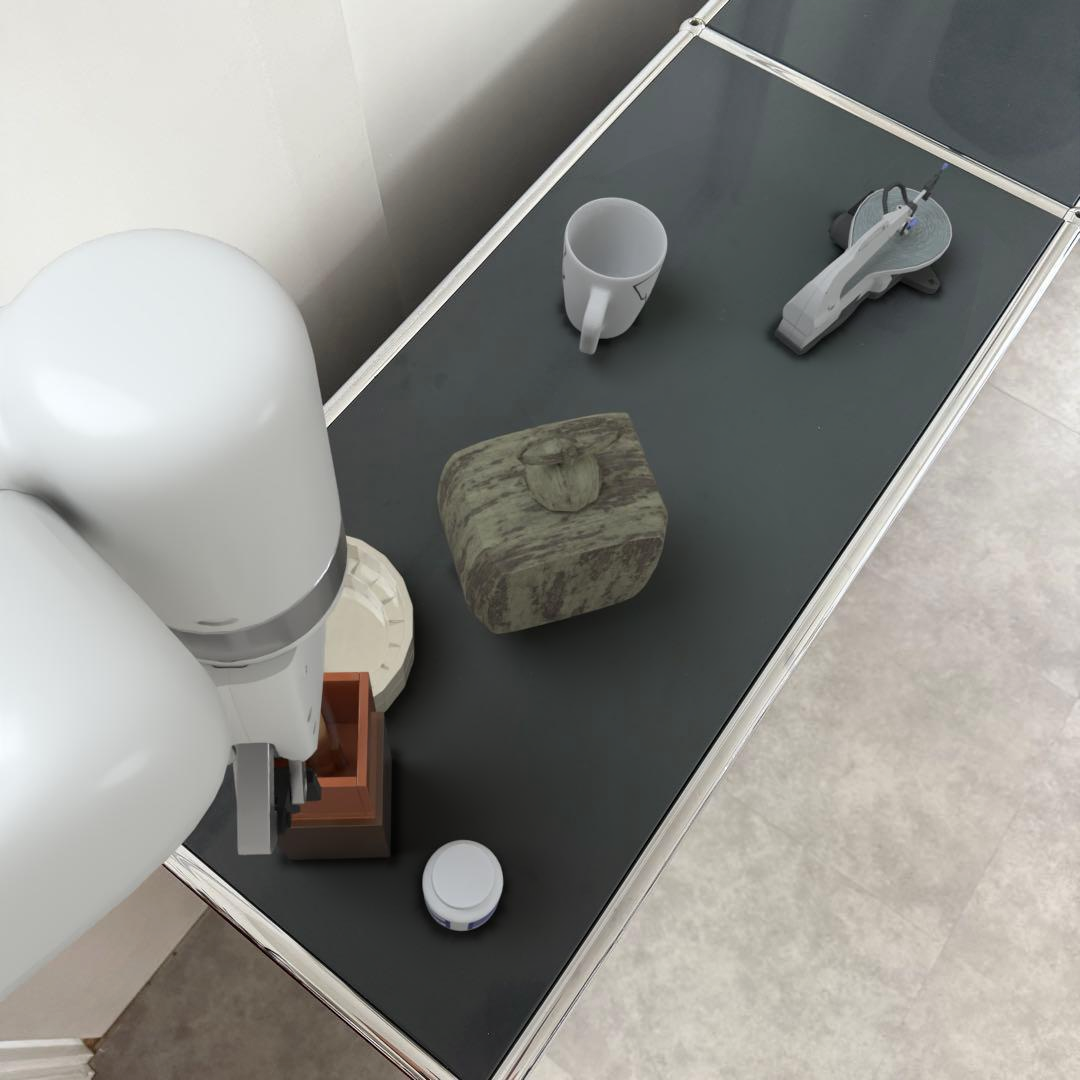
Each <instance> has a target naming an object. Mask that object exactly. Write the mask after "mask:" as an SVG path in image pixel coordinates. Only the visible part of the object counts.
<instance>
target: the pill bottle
mask: <svg viewBox="0 0 1080 1080" xmlns="http://www.w3.org/2000/svg"><path fill="white" fill-rule="evenodd" d="M421 880H422V881H421V883H422V884H421V885H422V893H423V898H424V902H425V906H426V908H427V910H428V912H429V914H430V915H431V917H432V918H433V919H434V920H435V921H436V923H438V924H439V925H441V926H443V927H445V928H447V929H449V930H452V931H456V932H457V931H458V932H464V931H465V932H467V931H470V930H474V929H477V928H479V927H480V926H482V925H484V924H486V922H487V921H488V920H489V919H490V918H491V917H492V916H493V914H495V913H494V912H495V911H496V909H497V907H498V904H499V901H500V898H501V896H502V892H503V887H504V876H503V871H502V866H501V864H500V862H499V860H498V858H497V856H495V854H494V853H493V852H492V851H491V850H490V849H489V848H488V847H487V846H485V845H483V844H482V843H480V842H477V841H473V840H470V839H468V840H467V839H457V840H453V841H450V842H447V843H445V844H443V845H442V846H440V847H439V848H438V849H436V850H435V851H434V853H433V854H431V856H430V858H429V859H428V860H427V863H426V864H425V867H424V870H423V873H422V879H421Z"/></svg>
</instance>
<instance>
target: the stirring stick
mask: <svg viewBox="0 0 1080 1080" xmlns="http://www.w3.org/2000/svg"><path fill="white" fill-rule="evenodd" d="M305 762H306V767H310V768H312V770H313V771H314V773H315V774H316V775H317V776H319V777H330V776H332V775H333V774H335V772H336V771H337V769H345V757H344V754H343V751H342V748H341V745H340V742H339V740H338V739H332V740H331V739H330V736H329V733H328V730H327V728H326V725H325V722H324V719H323V717H322V714H321V712H320V723H319V735H318V745H317V749H316V751H315V752H314V753H313V754H312V756H310V757H309V758H308V759H307V760H305Z"/></svg>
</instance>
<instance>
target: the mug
mask: <svg viewBox="0 0 1080 1080" xmlns="http://www.w3.org/2000/svg"><path fill="white" fill-rule="evenodd" d="M564 231H565V232H564V237H563V248H562V249H563V250H562V251H563V253H562V269H561V270H562V272H561V273H562V285H563V286H562V287H563V288H562V289H563V297H564V307H565V312H566V315H567V317H568V320H569V322H570V323H571V324H572V326H573V327H574V328H575V329H576V330H577V331H579V332H580V338H579V339H580V340H579V351H580V352H581V353H583V354H586V355H594V354H595V352H596V350H597V347H598V343H599V340H600V339H610V338H611V339H612V338H615V337H618V336H620V335H622V334H624V333H625V332H627V330H629V328H630V327H631V326H632V325H633V323H634V322H635V321H636V319H637V317H638V316H639V314H640V312H641V311H642V309H643V307H644V306H645V304H646V302H647V301H648V299H649V297H650V295H651V293H652V291H653V289H654V287H655V284H656V282H657V280H658V277H659V275H660V271H661V269H662V268H663V265H664V262H665V259H666V255H667V252H668V236H667V233H666V230H665V228H664V226H663V224H662V222H661V221H660V219H659V217H657V216H656V214H655V213H654V212H652V210H650V209H648V208H647V207H646V206H644V205H642V204H640V203H638V202H636V201H633V200H631V199H627V198H623V197H622V198H621V197H602V198H598V199H594V200H591V201H588V202H587V203H585V204H583V205H582V206H580V207H579V208H577V210H575V211H574V212H573V214H572V215H571V217H570V218H569V220H568V221H567V224H566V227H565V230H564Z"/></svg>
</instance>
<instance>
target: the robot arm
mask: <svg viewBox="0 0 1080 1080" xmlns="http://www.w3.org/2000/svg"><path fill="white" fill-rule="evenodd" d="M324 410H325V409H324V405H323V399H322V393H321V389H320V383H319V377H318V372H317V365H316V359H315V354H314V350H313V347H312V343H311V339H310V336H309V332H308V329H307V326H306V322H305V320H304V318H303V315H302V314H301V311H300V309H299V308H298V306H297V304H296V303H295V301H294V299H293V298H292V296H291V295H290V294H289V292H288V291H287V290H286V288H285V287H284V286H283V284H282V283H281V281H279V279H278V278H277V277H276V276H275V275H274V274H272V273H271V272H270V271H269V270H268V269H267V268H266V267H264V266H263V265H262V263H260V262H259V261H258V260H257V259H255V258H254V257H253V256H251V255H249V254H248V253H246V252H244V250H241V249H239V248H238V247H236V246H234V245H232V244H229V243H228V242H227V243H226V242H224V241H223V240H219V239H218V238H214V237H212V236H209V235H204V234H200V233H196V232H192V231H189V230H184V229H175V228H161V227H158V228H157V227H153V228H152V227H150V228H135V229H128V230H123V231H117V232H114V233H109V234H106V235H105V234H104V235H102V236H100V237H96V238H94V239H91V240H88V241H85V242H82V243H81V244H78V245H77V246H75V247H73V248H71V249H69V250H67V251H65V252H63V253H62V254H60V255H59V256H57V257H56V258H55V259H53V260H52V261H50V262H49V263H47V265H45V266H43V267H42V268H41V269H40V270H39V271H38V272H37V273H36V274H35V275H34V276H33V277H32V278H31V279H30V280H29V281H28V282H27V283H26V284H25V285H24V286H23V287H22V288H21V290H20V291H19V292H18V294H17V295H16V296H15V297H14V298H13V299H12V300H11V301H10V302H8V303H6V304H4V305H2V306H0V1003H2V1002H3V1001H4V1000H5V999H7V997H9V996H10V995H11V994H13V993H14V992H15V991H16V990H17V989H19V988H20V987H21V986H22V985H24V984H25V983H26V982H27V981H29V980H30V979H31V978H32V977H33V976H34V975H36V974H37V973H38V972H39V971H41V970H43V968H44V967H46V966H47V965H48V964H49V963H51V962H52V961H53V960H54V959H56V957H58V956H59V955H60V954H62V953H63V952H64V951H65V950H67V949H68V948H69V947H70V946H71V945H73V944H74V943H75V942H76V941H78V940H79V939H80V938H81V937H82V936H83V935H85V934H86V933H88V931H90V929H92V928H93V927H94V926H96V925H97V923H99V922H100V921H101V920H103V919H104V918H105V917H106V916H107V915H108V914H109V913H110V912H112V911H113V910H114V909H115V908H117V907H118V906H119V905H120V904H121V903H123V901H124V900H126V899H127V898H129V896H131V895H132V894H133V893H134V892H135V891H136V890H137V889H138V888H139V887H140V886H141V885H142V884H144V882H145V881H146V880H148V878H150V877H151V876H152V875H153V874H154V873H155V872H156V871H157V870H158V869H159V868H160V867H161V866H162V865H163V864H164V863H165V862H166V861H168V860H169V858H171V856H172V855H174V853H175V852H177V850H178V849H179V848H180V847H181V845H183V843H184V842H185V841H186V839H188V838H189V836H190V835H191V834H192V832H194V830H195V829H196V828H197V826H198V825H199V823H200V821H201V820H202V819H203V817H204V816H205V814H206V813H207V811H208V810H209V808H210V807H211V805H212V803H214V800H215V799H216V796H217V794H218V792H219V790H220V788H221V786H222V785H223V782H224V778H225V774H226V771H227V767H228V766H230V765H231V764H232V769H233V770H232V771H233V780H234V781H233V782H234V790H235V799H236V834H237V835H236V839H237V840H236V842H237V854H238V856H239V857H240V856H269V855H272V854H273V852H274V850H275V848H276V845H277V844H276V843H277V836H285V835H286V832H287V829H288V828H291V823H292V815H291V814H296V813H299V812H300V804H305V803H306V802H307V801H320V800H321V792H322V788H321V786H320V784H319V781H318V779H317V777H316V775H315V773H314V771H313V770H312V768H310V767H306V762H305V760H307V759H308V758H309V757H310V756H312V754H313V753H314V752H315V751H316V749H317V745H318V735H319V723H320V712H321V701H322V688H323V674H324V658H325V641H326V619H327V618H328V617H329V615H330V614H331V613H332V611H333V610H334V608H335V606H336V604H337V602H338V600H339V598H340V596H341V594H342V591H343V588H344V585H345V582H346V577H347V571H348V562H349V553H348V545H347V540H346V536H347V534H346V528H345V522H344V517H343V512H342V505H341V500H340V496H339V495H340V494H339V488H338V483H337V477H336V473H335V467H334V461H333V455H332V451H331V450H332V449H331V444H330V439H329V433H328V428H327V422H326V416H325V411H324ZM274 758H286V759H288V761H289V767H282V768H274Z"/></svg>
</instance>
